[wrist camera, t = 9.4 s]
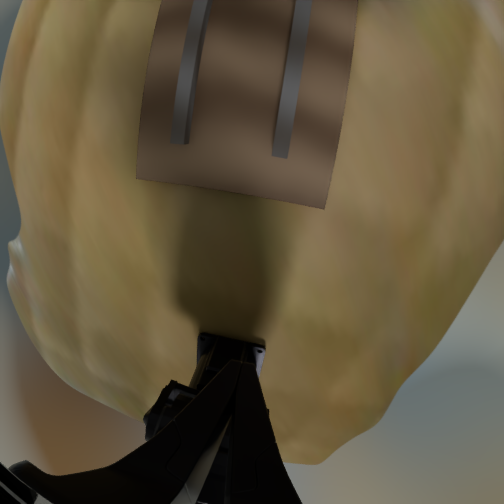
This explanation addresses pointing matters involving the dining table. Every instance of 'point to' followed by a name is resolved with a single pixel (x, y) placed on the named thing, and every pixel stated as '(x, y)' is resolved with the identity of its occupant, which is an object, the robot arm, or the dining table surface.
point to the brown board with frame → (247, 96)
